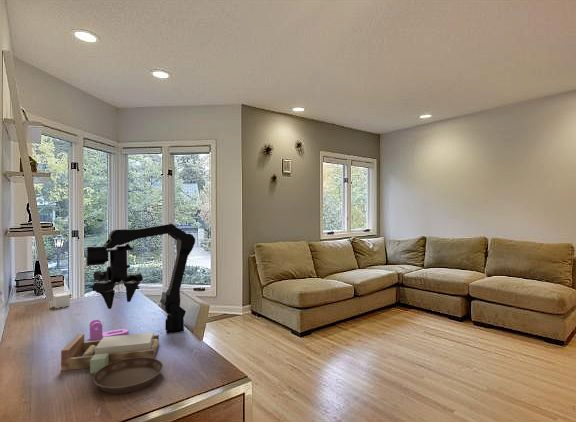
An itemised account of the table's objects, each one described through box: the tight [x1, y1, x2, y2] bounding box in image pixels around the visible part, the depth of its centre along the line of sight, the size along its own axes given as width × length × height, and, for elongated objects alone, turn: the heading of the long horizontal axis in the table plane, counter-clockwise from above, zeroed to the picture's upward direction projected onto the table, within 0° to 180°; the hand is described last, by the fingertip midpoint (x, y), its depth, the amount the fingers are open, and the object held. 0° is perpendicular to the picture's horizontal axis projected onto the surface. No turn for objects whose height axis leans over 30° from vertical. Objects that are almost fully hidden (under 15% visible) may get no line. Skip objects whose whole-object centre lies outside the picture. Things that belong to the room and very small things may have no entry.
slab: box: [94, 332, 155, 355], centre depth 111 cm, size 16×10×2 cm, turn 105°
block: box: [89, 353, 109, 374], centre depth 101 cm, size 4×4×4 cm
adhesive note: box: [52, 292, 71, 309], centre depth 171 cm, size 6×6×6 cm
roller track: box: [60, 333, 160, 371], centre depth 111 cm, size 26×14×6 cm, turn 105°
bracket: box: [89, 318, 129, 341], centre depth 128 cm, size 13×6×7 cm, turn 125°
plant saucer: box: [92, 357, 164, 394], centre depth 94 cm, size 18×18×3 cm
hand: (119, 305), depth 123 cm, fingers open, 9 cm apart
